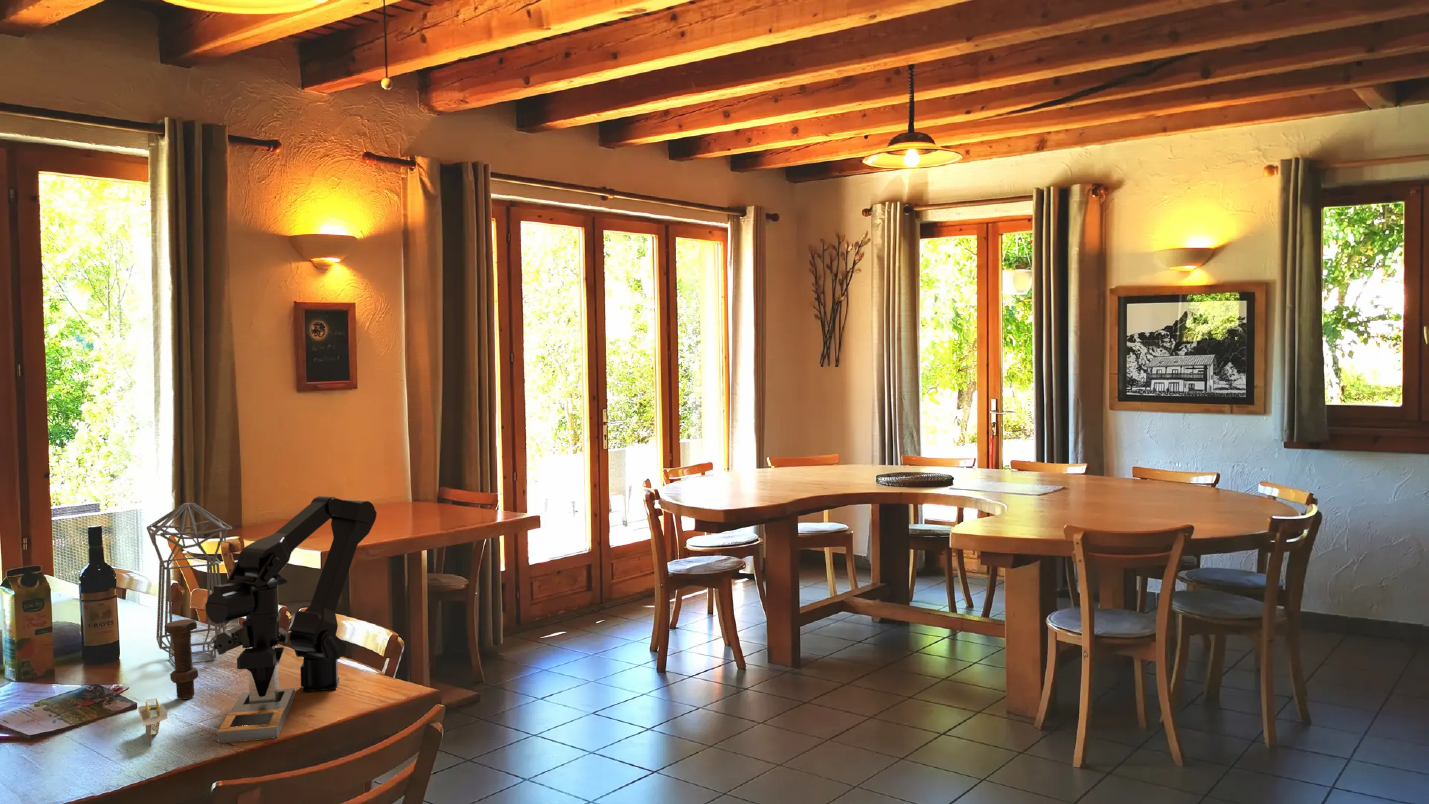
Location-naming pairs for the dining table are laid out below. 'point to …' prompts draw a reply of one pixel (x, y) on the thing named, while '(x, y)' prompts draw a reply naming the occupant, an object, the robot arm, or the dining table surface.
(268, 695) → the nut block
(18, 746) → the dining table surface
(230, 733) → the rail plate
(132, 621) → the dining table surface
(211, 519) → the geometric lantern
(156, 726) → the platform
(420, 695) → the dining table surface
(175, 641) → the bolt
